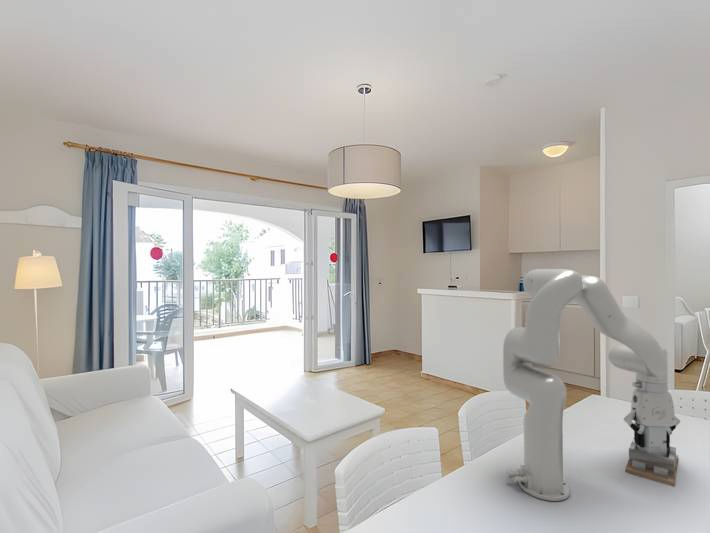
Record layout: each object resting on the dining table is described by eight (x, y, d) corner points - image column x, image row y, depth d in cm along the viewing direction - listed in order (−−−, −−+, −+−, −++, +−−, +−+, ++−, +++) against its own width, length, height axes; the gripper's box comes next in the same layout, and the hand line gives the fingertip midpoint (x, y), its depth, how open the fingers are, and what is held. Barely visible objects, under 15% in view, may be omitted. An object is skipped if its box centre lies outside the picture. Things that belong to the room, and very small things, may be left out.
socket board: (674, 486, 103) (674, 468, 103) (625, 471, 110) (625, 454, 110) (678, 458, 118) (678, 442, 118) (634, 447, 125) (634, 432, 125)
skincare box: (649, 462, 111) (649, 420, 111) (636, 454, 116) (636, 415, 116) (668, 460, 112) (667, 419, 112) (654, 453, 117) (653, 413, 117)
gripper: (630, 389, 111) (630, 451, 111) (691, 390, 110) (692, 452, 110) (614, 382, 118) (614, 439, 118) (671, 382, 117) (671, 440, 117)
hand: (651, 445), depth 114 cm, fingers closed on skincare box, 6 cm apart
